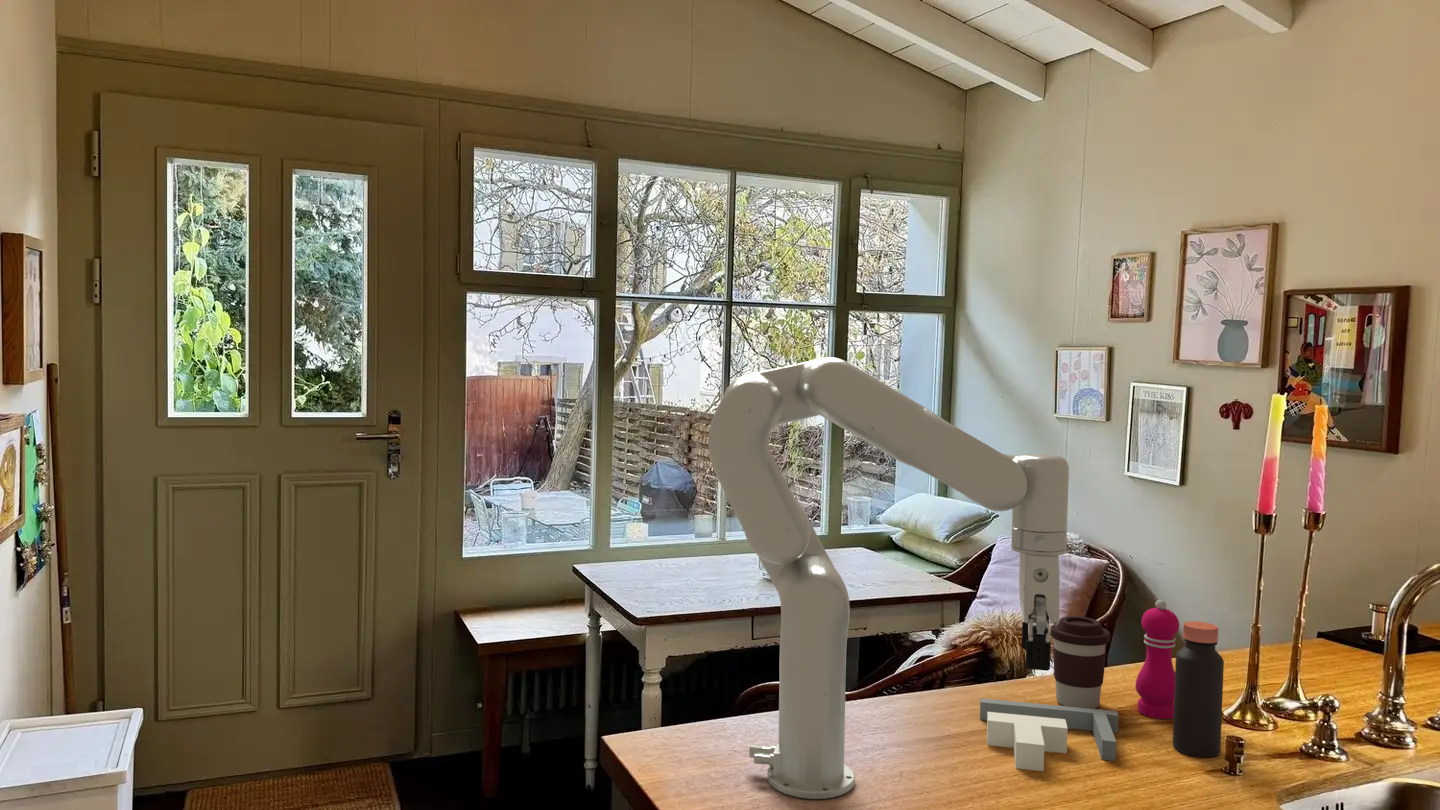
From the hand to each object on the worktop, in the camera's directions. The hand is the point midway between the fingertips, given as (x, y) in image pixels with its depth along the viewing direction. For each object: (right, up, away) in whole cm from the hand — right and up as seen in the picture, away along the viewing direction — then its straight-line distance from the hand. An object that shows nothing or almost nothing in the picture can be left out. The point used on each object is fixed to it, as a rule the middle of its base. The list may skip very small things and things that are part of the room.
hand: (1035, 658), depth 141 cm
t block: (+2, -18, +11) cm, 21 cm away
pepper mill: (+31, -17, +30) cm, 46 cm away
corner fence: (+8, -17, +18) cm, 26 cm away
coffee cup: (+19, -17, +34) cm, 42 cm away
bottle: (+30, -18, +14) cm, 37 cm away
